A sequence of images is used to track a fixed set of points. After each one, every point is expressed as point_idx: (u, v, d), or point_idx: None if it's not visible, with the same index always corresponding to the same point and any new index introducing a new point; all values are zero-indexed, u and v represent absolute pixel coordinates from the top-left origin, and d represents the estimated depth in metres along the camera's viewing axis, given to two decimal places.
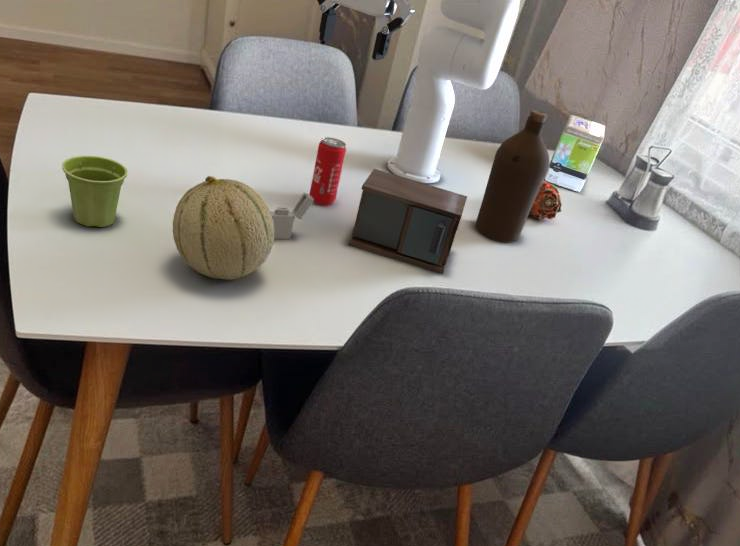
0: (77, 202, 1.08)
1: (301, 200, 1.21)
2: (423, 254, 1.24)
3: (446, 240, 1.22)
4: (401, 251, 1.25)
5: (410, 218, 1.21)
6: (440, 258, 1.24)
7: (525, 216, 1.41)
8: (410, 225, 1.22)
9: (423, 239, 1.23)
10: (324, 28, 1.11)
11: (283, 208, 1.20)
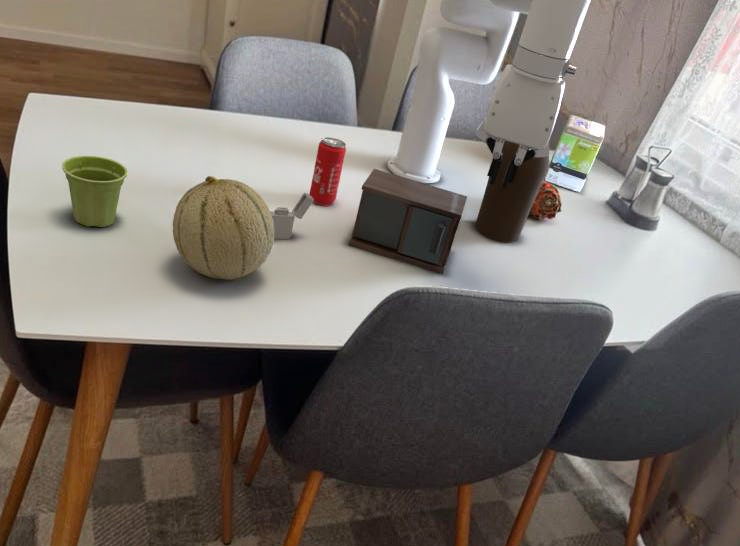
0: (77, 202, 1.08)
1: (301, 200, 1.21)
2: (423, 254, 1.24)
3: (446, 240, 1.22)
4: (401, 251, 1.25)
5: (410, 218, 1.21)
6: (440, 258, 1.24)
7: (525, 216, 1.41)
8: (410, 225, 1.22)
9: (423, 239, 1.23)
10: (496, 173, 1.10)
11: (283, 208, 1.20)
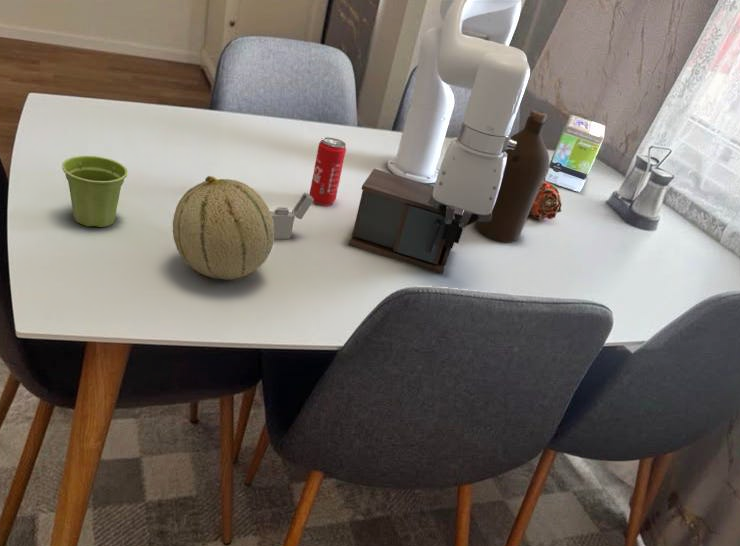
0: (77, 202, 1.08)
1: (301, 200, 1.21)
2: (419, 253, 1.24)
3: (442, 239, 1.22)
4: (397, 250, 1.25)
5: (406, 217, 1.21)
6: (436, 257, 1.24)
7: (525, 216, 1.41)
8: (405, 224, 1.22)
9: (419, 238, 1.23)
10: (449, 237, 1.17)
11: (283, 208, 1.20)
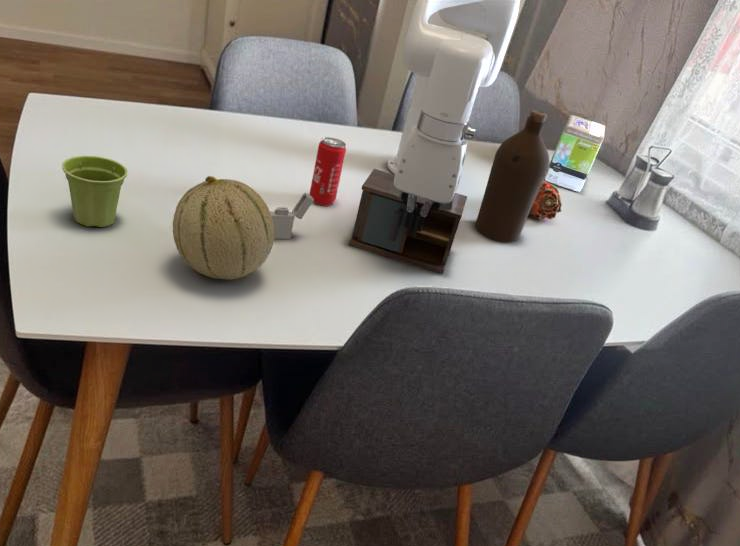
0: (77, 202, 1.08)
1: (301, 200, 1.21)
2: (383, 242, 1.25)
3: (405, 228, 1.22)
4: (361, 239, 1.25)
5: (369, 206, 1.22)
6: (400, 246, 1.24)
7: (525, 216, 1.41)
8: (369, 213, 1.22)
9: (383, 227, 1.23)
10: (411, 225, 1.18)
11: (283, 208, 1.20)
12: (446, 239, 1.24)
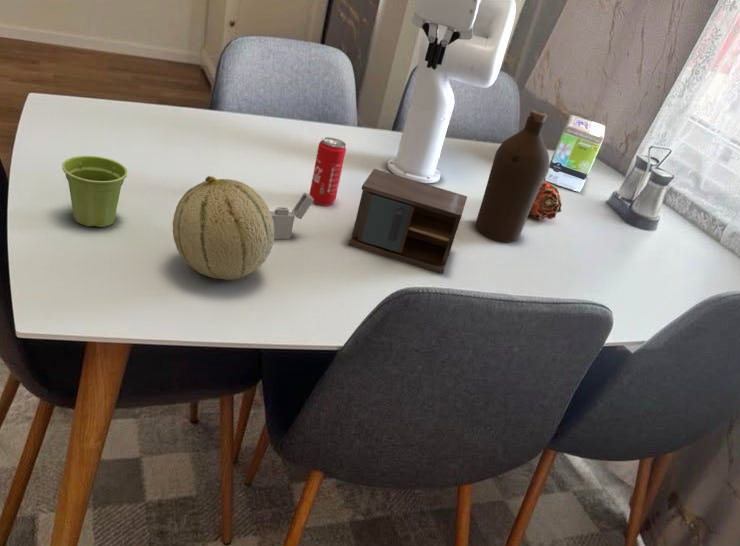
0: (77, 202, 1.08)
1: (301, 200, 1.21)
2: (383, 242, 1.25)
3: (405, 228, 1.22)
4: (361, 239, 1.25)
5: (369, 206, 1.22)
6: (400, 246, 1.24)
7: (525, 216, 1.41)
8: (369, 213, 1.22)
9: (383, 227, 1.23)
10: (432, 57, 1.22)
11: (283, 208, 1.20)
12: (446, 239, 1.24)
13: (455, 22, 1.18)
